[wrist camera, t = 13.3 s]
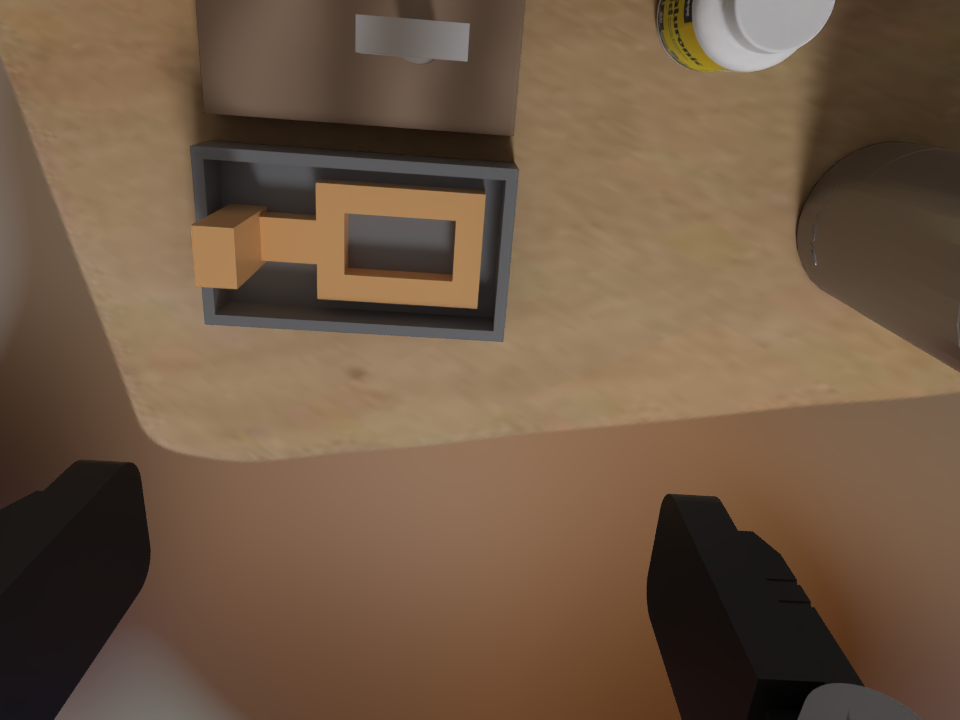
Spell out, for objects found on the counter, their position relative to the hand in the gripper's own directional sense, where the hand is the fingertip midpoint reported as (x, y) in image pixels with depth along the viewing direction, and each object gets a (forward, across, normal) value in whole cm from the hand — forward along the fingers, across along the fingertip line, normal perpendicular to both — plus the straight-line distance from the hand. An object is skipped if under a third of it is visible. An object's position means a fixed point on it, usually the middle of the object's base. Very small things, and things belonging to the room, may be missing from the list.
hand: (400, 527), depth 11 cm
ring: (+30, +6, +2) cm, 30 cm away
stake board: (+30, +5, -8) cm, 32 cm away
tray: (+30, +5, +2) cm, 31 cm away
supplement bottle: (+31, -12, -10) cm, 35 cm away
